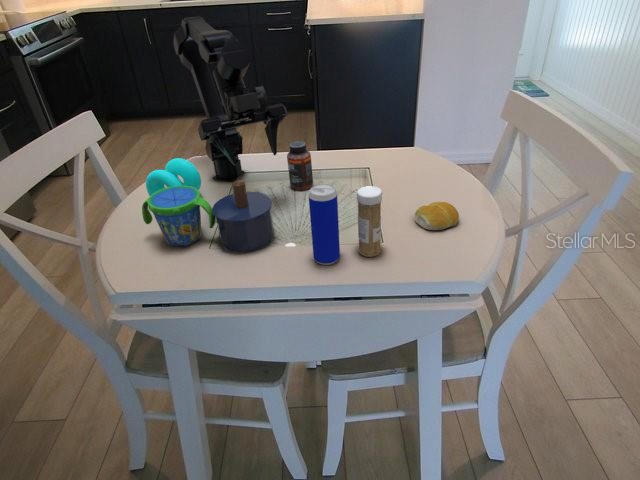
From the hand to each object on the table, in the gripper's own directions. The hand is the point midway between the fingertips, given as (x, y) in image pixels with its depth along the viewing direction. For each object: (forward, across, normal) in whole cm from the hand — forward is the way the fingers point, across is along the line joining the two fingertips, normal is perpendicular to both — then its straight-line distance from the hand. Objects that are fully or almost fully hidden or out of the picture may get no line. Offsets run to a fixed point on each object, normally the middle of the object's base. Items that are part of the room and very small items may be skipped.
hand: (255, 159), depth 98 cm
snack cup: (+11, -18, +8) cm, 23 cm away
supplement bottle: (+6, +14, +15) cm, 22 cm away
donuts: (+1, -15, +23) cm, 28 cm away
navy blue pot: (+15, -6, +2) cm, 17 cm away
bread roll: (+25, +31, -11) cm, 41 cm away
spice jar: (+26, +12, -13) cm, 31 cm away
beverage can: (+25, +4, -11) cm, 27 cm away
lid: (+9, -6, -2) cm, 12 cm away
